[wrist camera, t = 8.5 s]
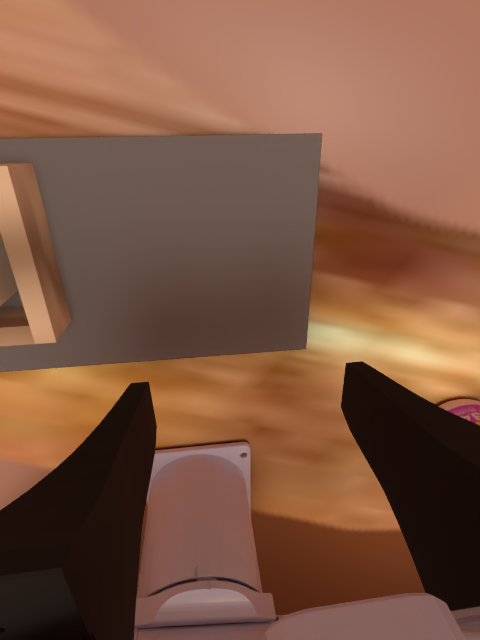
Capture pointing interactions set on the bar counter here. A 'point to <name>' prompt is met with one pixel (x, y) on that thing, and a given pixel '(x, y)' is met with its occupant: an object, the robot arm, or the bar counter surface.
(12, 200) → the frame
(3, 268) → the plug
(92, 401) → the bar counter surface
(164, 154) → the mat
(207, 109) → the bar counter surface
